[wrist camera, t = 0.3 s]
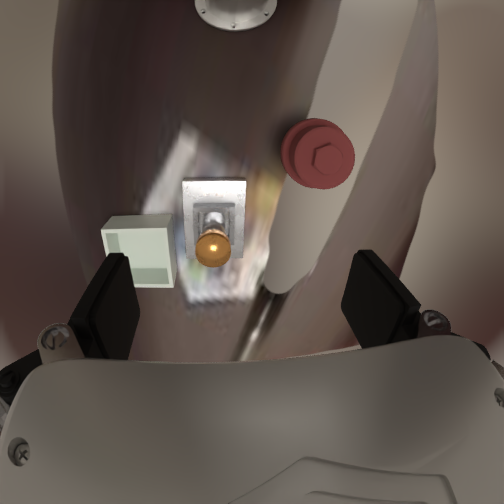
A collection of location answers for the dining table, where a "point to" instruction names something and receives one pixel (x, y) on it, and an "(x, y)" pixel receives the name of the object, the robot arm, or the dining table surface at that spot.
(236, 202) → the white base with recess
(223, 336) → the dining table surface
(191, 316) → the dining table surface
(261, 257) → the dining table surface
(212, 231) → the copper-capped metal peg
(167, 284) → the bin
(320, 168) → the mechanical component
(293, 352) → the dining table surface
